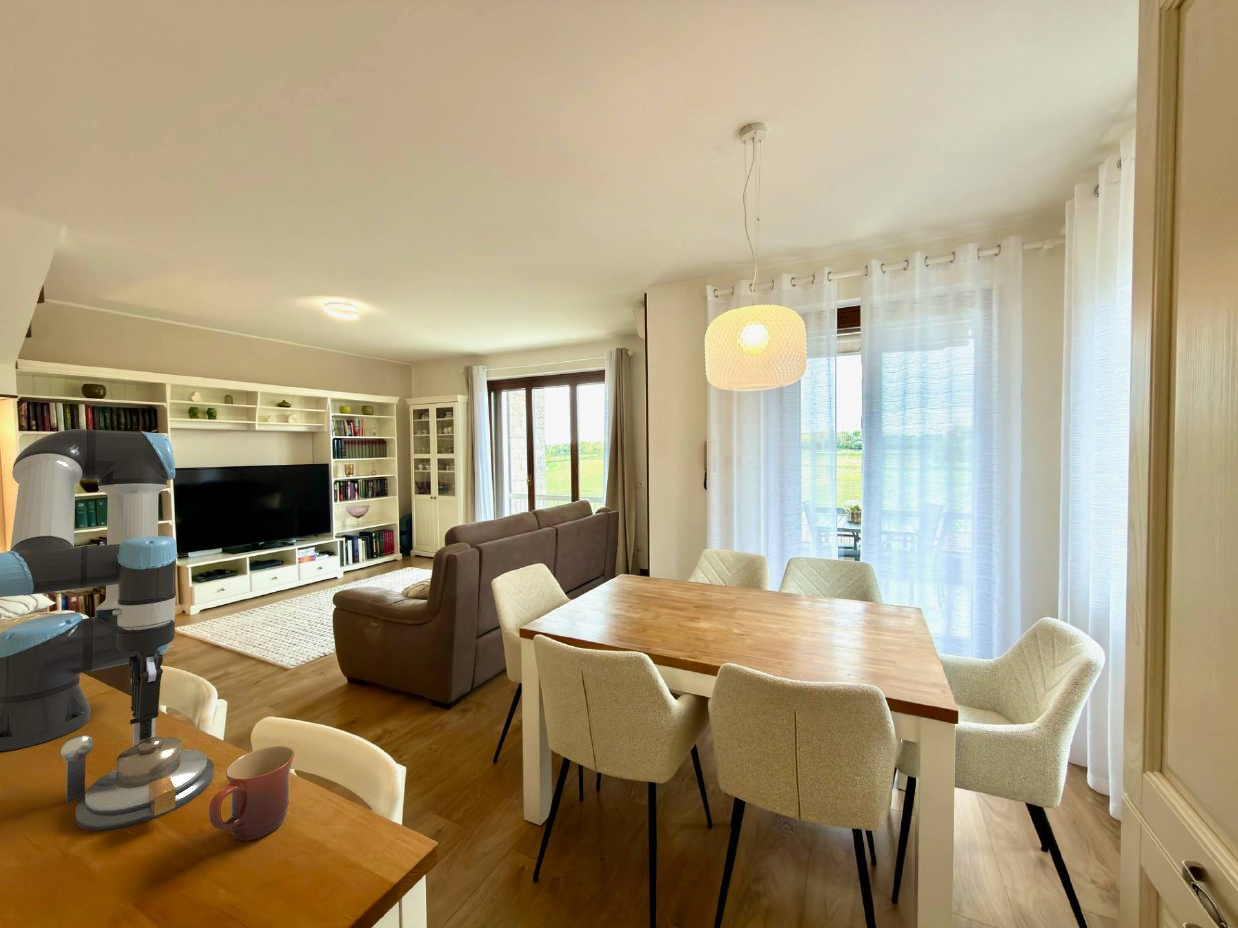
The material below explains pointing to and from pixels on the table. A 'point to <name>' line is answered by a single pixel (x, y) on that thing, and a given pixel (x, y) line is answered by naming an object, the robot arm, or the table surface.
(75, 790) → the dial stand
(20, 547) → the robot arm
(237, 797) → the mug
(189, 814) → the table surface
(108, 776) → the turntable
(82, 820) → the turntable base
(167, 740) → the cover
